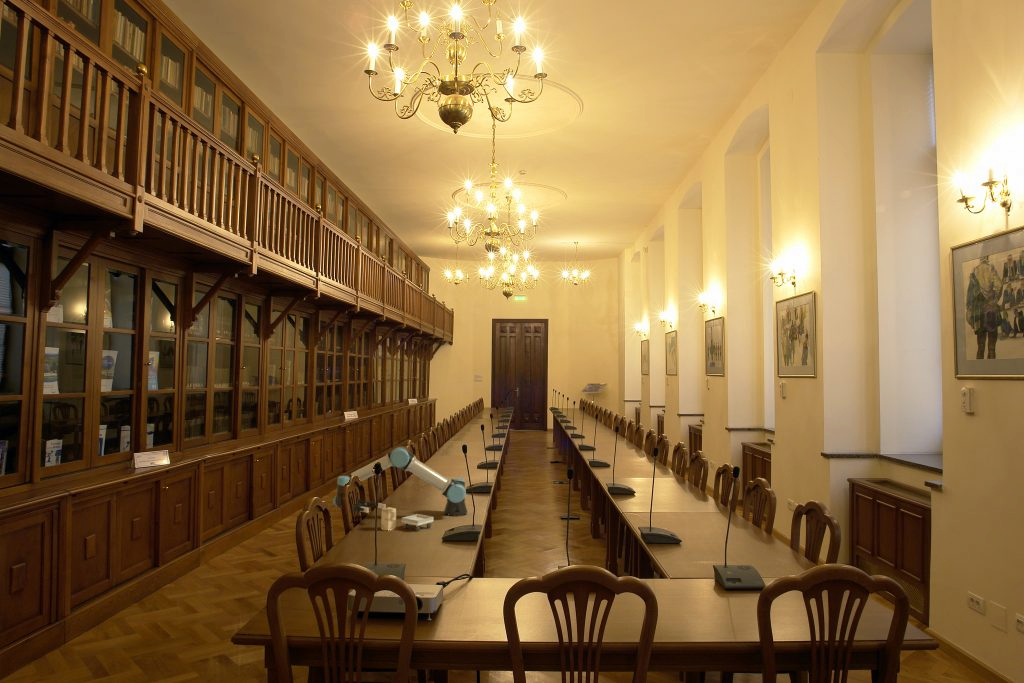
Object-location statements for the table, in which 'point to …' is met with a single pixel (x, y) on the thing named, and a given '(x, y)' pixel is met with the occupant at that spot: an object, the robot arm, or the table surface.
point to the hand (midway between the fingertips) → (376, 508)
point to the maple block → (388, 518)
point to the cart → (417, 521)
